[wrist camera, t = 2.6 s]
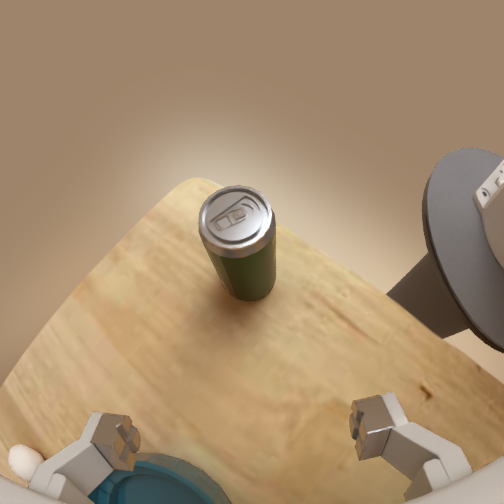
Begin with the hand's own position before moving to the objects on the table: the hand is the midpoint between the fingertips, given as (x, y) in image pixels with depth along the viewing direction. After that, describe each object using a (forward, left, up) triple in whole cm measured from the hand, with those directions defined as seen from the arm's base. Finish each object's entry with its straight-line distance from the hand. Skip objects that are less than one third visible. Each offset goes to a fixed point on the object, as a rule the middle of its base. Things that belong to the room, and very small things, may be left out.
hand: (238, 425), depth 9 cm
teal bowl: (+16, +3, -18) cm, 24 cm away
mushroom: (+27, -10, -18) cm, 34 cm away
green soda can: (-8, -9, -18) cm, 22 cm away
